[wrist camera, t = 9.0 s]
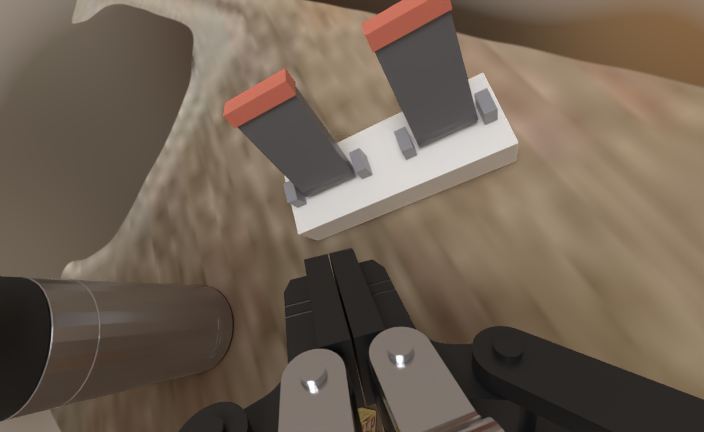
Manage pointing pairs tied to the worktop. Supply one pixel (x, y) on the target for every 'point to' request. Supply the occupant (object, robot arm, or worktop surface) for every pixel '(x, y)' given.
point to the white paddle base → (405, 167)
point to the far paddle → (289, 134)
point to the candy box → (367, 419)
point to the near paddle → (423, 66)
